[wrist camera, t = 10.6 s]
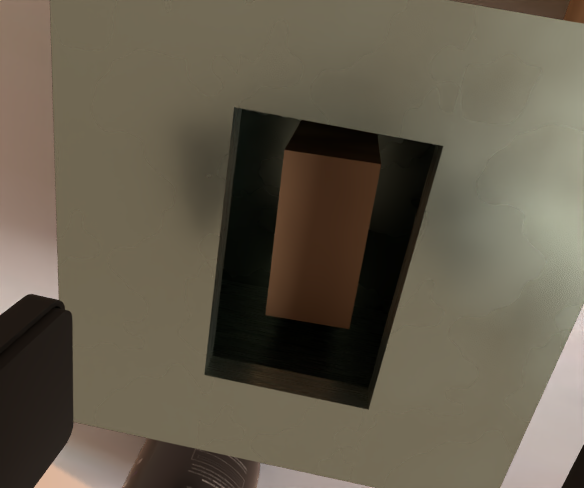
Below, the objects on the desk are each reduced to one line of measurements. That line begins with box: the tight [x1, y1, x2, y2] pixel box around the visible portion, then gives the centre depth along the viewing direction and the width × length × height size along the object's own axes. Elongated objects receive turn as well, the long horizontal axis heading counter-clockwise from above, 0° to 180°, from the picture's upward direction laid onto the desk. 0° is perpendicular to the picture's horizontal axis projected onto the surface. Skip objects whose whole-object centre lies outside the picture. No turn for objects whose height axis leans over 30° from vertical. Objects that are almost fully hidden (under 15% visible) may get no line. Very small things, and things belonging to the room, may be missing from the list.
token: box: [265, 120, 381, 329], centre depth 20 cm, size 3×6×6 cm, turn 173°
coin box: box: [50, 0, 584, 488], centre depth 19 cm, size 14×14×10 cm
